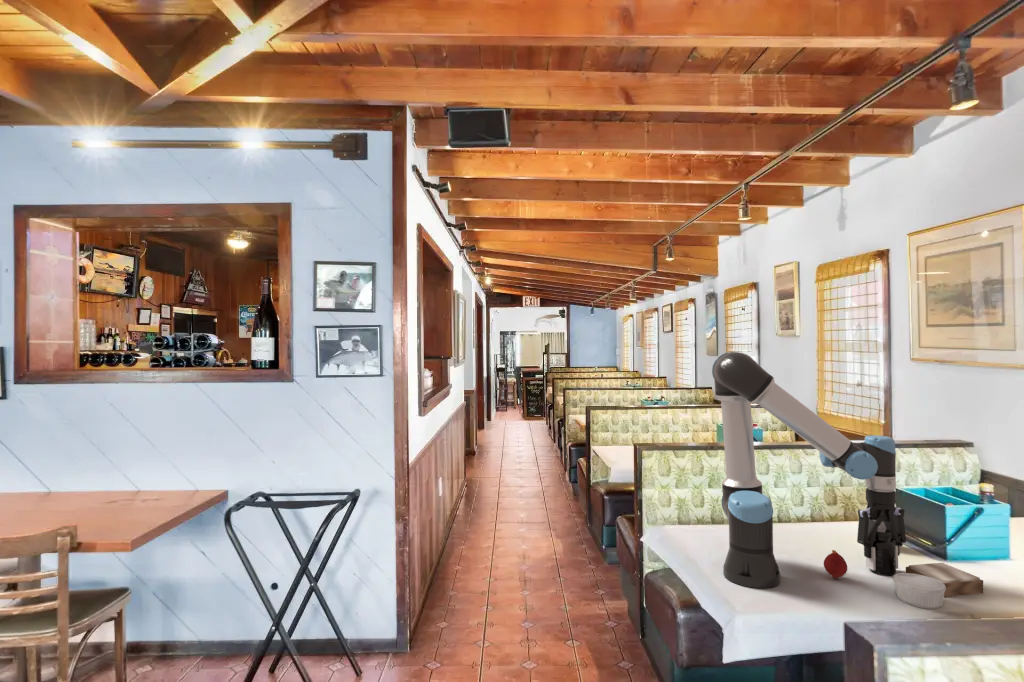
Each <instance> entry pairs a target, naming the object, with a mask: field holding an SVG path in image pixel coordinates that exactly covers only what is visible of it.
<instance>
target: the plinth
mask: <svg viewBox="0 0 1024 682" xmlns="http://www.w3.org/2000/svg"><path fill="white" fill-rule="evenodd" d="M905 573H911V574H918V575H923V576H927V577H930V578H934V579H936V580H938V581H940V582H942V583H943V584H944V585H945V586H946V591H945V592H944V598H949V597H960V596H969V595H970V596H972V595H982V594H984V580H982V579H981V577H979V576H976V575H973V574H971V573H970V572H966V571H964V570H961V569H959V568H956V567H954V566H953V565H949V564H947V563H944V562H933V563H922V564H921V563H919V564H910V565H908V566H906V567H905Z"/></svg>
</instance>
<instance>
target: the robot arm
mask: <svg viewBox="0 0 1024 682" xmlns="http://www.w3.org/2000/svg"><path fill="white" fill-rule="evenodd" d="M711 374H712V378H713V380H714V392H715V394H714V395H715V397H716V398H718V400H719V401H720V404H721V419H722V421H721V422H722V433H723V445H724V448H723V449H724V458H725V459H724V460H725V461H724V463H725V472H726V473H725V475H726V477H725V478H724V479H723V480H722V481H721V486H722V487H721V488H722V496H721V508H722V510H723V513H724V515H725V517H726V519H727V521H728V530H729V531H728V533H729V534H728V539H729V540H728V541H729V547H728V551H727V554H726V558H725V560H724V563H723V566H722V567H723V571H722V572H723V573H722V575H723V576H724V578H726V580H727V581H729V582H732V583H734V584H736V585H739V586H744V587H749V588H757V589H766V588H767V589H768V588H774V587H777V586H779V585H780V584H781V581H782V580H781V572H780V571H781V570H780V568H779V566H778V563H777V560H776V558H775V554H774V529H773V528H774V527H773V526H774V521H773V519H774V518H773V517H774V516H773V515H774V507H773V501H772V499H770V497H769V496H767V495H766V494H764V492H763V491H764V490H763V482H762V481H761V480H760V479H758V478H757V473H756V472H757V471H756V470H757V469H756V460H755V459H756V457H755V448H754V447H755V445H754V432H753V417H752V407H751V406H752V404H753V403H755V404H757V405H759V406H760V407H761V408H762V409H764V410H766V411H767V412H768V413H769V414H771V415H772V416H774V418H776V419H777V420H778V421H780V422H781V423H782V424H784V425H785V426H786V427H788V428H789V429H790V430H791V431H793V432H794V433H795V434H797V436H799V437H800V438H802V439H803V440H804V441H806V442H807V443H808V444H809V445H811V446H812V447H813V448H814V449H816V450H817V451H818V452H819V460H820V463H821V464H822V466H823V467H827V468H832V469H834V468H838V469H841V470H842V471H844V472H845V473H846V474H848V475H849V476H850V477H852V478H854V479H857V480H862V481H863V480H865V487H866V488H865V500H866V502H867V506H866V508H865V509H860V508H858V510H857V514H858V524H857V525H858V526H857V527H858V528H857V537H856V538H857V539H856V540H857V541H856V542H857V543H858V544H861V545H863V554H864V557H865V567H866V568H867V569H869V570H870V569H871V570H876V563H875V547H872V546H873V543H874V539H875V536H876V533H877V529H878V526H879V525H880V524H881V522H884V524H885V527H886V529H887V530H890V531H891V536H892V538H891V540H892V541H894V543H895V545H896V570H897V569H899V557H900V551H901V550H900V547H903V545H904V544H906V543H907V537H906V536H907V535H906V528H905V519H904V517H905V509H903V508H901V507H897V506H896V504H897V492H896V491H895V490H896V489H897V478H896V477H897V475H896V470H897V469H896V463H897V462H896V460H897V459H896V457H897V456H896V455H897V451H896V443H895V440H894V438H892V437H890V436H885V435H875V434H873V435H866V436H865V437H864V441H863V442H853V441H851V440H850V439H849V438H848V437H846V436H845V435H844V434H843V433H841V432H840V431H839V430H837V429H836V428H835V427H833V426H832V425H831V424H829V423H828V422H827V421H825V420H824V419H823V418H821V417H820V416H819V415H818V414H817V413H815V412H814V411H812V409H810V408H809V407H807V406H806V405H804V403H802V402H801V401H799V400H798V399H797V398H795V397H794V396H793V395H791V394H790V393H789V392H788V391H786V390H785V389H784V388H782V387H781V386H780V385H778V383H775V377H774V376H773V375H771V374H770V373H769V372H767V371H766V370H765V369H764V368H763V367H762V366H761V365H759V363H758V362H756V360H755V359H753V358H752V357H751V356H750V355H748V354H747V353H743V352H738V351H729V352H724V353H722V354H721V355H719V356H717V358H716V359H715V361H714V362H713V365H712V369H711ZM873 520H875V521H873ZM871 570H870V571H871Z"/></svg>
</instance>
